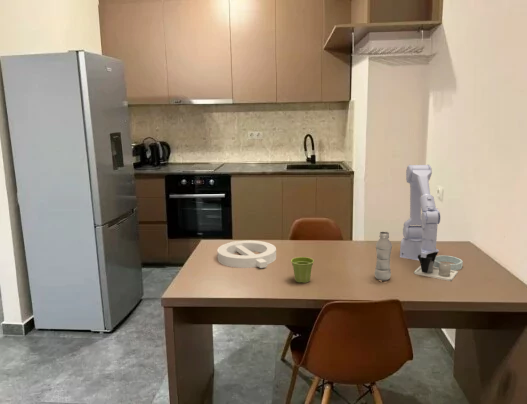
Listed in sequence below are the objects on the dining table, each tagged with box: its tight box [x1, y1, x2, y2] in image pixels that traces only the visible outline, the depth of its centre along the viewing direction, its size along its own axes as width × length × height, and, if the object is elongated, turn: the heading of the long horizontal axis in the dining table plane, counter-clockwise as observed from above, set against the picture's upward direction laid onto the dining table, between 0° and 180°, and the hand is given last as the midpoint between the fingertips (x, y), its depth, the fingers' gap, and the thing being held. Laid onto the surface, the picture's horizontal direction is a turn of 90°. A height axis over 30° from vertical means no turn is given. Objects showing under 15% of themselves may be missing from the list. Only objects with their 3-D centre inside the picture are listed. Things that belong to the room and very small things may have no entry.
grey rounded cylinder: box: [439, 262, 451, 277], centre depth 183 cm, size 4×4×5 cm
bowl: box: [433, 254, 464, 271], centre depth 194 cm, size 12×12×3 cm
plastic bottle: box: [374, 231, 393, 282], centre depth 179 cm, size 6×7×20 cm
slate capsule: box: [423, 261, 434, 274], centre depth 187 cm, size 4×4×5 cm
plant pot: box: [290, 256, 315, 284], centre depth 181 cm, size 9×9×9 cm
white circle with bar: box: [216, 239, 277, 269], centre depth 211 cm, size 28×28×5 cm
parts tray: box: [413, 265, 459, 282], centre depth 186 cm, size 15×11×1 cm
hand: (427, 269), depth 187 cm, fingers open, 7 cm apart
